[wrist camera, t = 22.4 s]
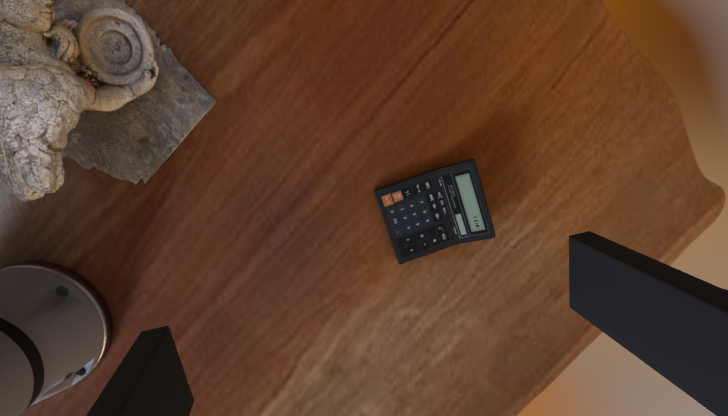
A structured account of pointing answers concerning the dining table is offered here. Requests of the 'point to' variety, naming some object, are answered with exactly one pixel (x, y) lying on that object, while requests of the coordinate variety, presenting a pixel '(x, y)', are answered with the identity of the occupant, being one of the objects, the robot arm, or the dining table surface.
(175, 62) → the cherub figurine
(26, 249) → the dining table surface
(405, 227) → the calculator
